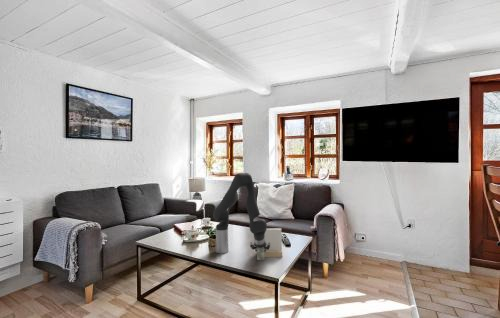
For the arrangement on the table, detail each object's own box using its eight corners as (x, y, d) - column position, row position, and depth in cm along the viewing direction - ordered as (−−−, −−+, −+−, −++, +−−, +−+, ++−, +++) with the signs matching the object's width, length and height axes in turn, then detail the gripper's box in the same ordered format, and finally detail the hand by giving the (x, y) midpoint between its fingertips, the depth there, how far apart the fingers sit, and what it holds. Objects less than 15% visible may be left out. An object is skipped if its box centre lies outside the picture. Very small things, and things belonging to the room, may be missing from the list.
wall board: (256, 256, 180) (256, 231, 180) (257, 252, 188) (257, 228, 188) (282, 257, 178) (281, 231, 178) (281, 252, 186) (281, 228, 186)
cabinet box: (257, 260, 174) (256, 244, 174) (257, 258, 177) (257, 242, 177) (264, 260, 174) (264, 244, 174) (264, 258, 177) (264, 242, 177)
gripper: (270, 234, 167) (270, 245, 179) (249, 234, 169) (250, 245, 181) (270, 244, 162) (271, 256, 174) (248, 244, 163) (250, 256, 175)
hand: (260, 250), depth 177 cm, fingers closed on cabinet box, 5 cm apart
